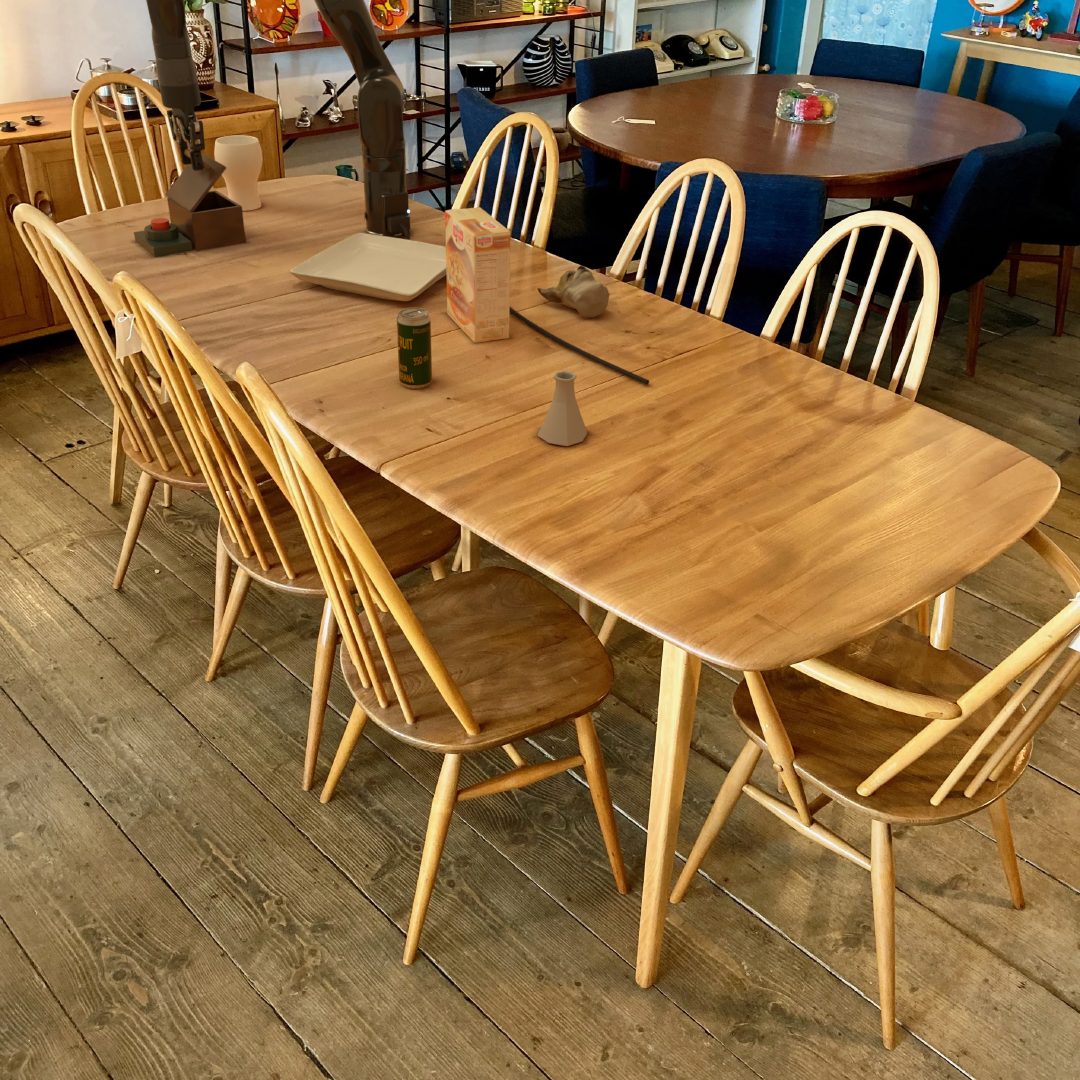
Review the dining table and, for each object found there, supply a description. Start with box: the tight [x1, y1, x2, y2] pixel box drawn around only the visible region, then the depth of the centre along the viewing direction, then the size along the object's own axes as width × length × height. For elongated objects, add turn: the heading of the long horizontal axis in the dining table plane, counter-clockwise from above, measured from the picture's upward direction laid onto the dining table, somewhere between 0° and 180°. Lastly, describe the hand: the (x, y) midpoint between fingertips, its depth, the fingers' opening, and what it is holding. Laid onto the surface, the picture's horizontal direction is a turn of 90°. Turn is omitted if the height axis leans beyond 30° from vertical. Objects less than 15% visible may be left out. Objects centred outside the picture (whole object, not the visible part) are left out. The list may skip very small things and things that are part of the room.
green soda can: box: [396, 307, 433, 390], centre depth 178 cm, size 5×5×12 cm
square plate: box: [289, 232, 447, 302], centre depth 221 cm, size 27×27×4 cm
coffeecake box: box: [444, 207, 512, 344], centre depth 197 cm, size 15×7×20 cm, turn 23°
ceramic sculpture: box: [537, 265, 610, 319], centre depth 209 cm, size 11×9×15 cm
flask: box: [537, 370, 588, 447], centre depth 164 cm, size 7×7×10 cm
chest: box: [166, 190, 247, 252], centre depth 237 cm, size 11×14×8 cm
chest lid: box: [165, 148, 226, 213], centre depth 230 cm, size 12×14×5 cm
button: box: [150, 217, 170, 230], centre depth 232 cm, size 4×4×2 cm
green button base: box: [133, 222, 194, 258], centre depth 233 cm, size 12×8×4 cm, turn 36°
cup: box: [213, 134, 264, 212], centre depth 255 cm, size 11×11×15 cm
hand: (192, 166), depth 230 cm, fingers closed on chest lid, 5 cm apart
